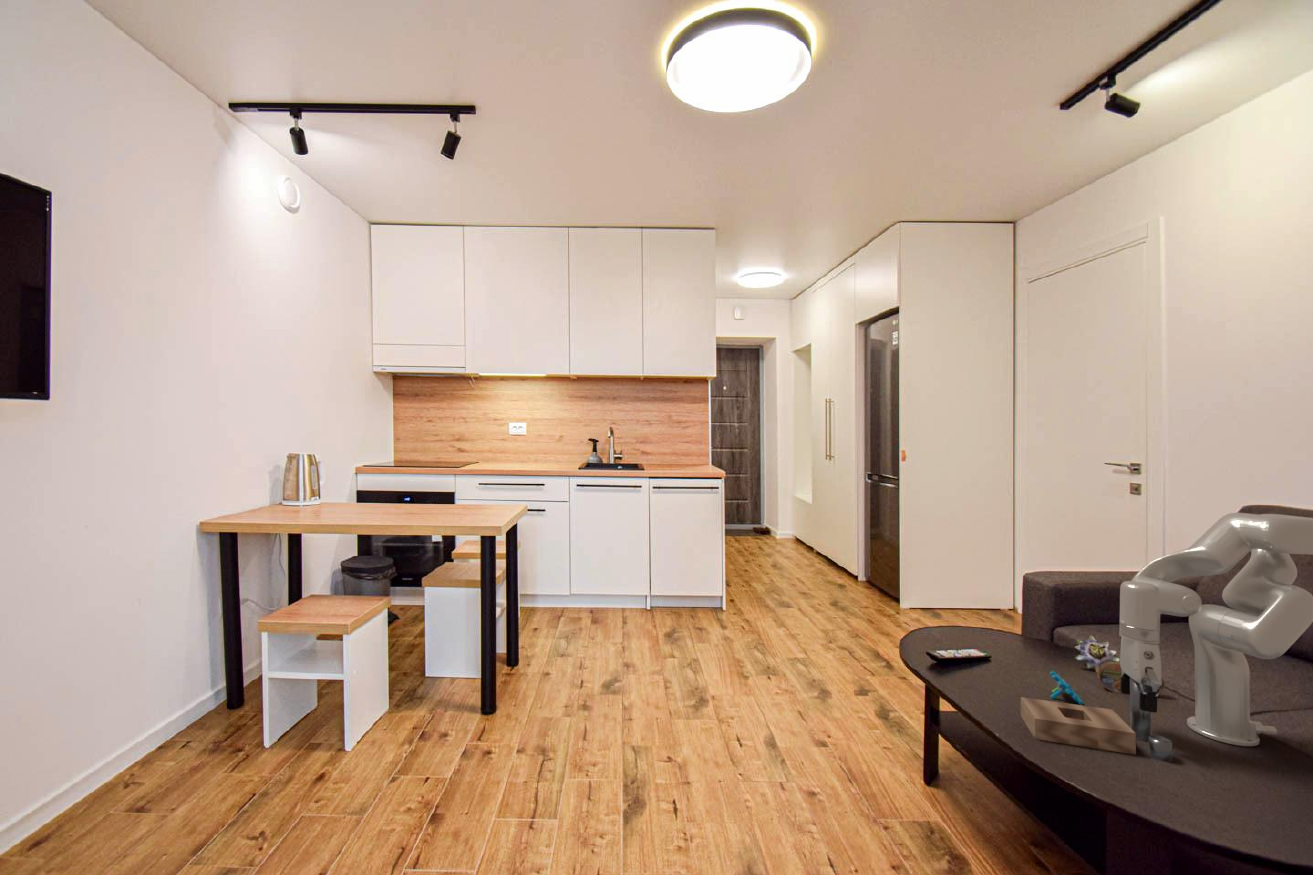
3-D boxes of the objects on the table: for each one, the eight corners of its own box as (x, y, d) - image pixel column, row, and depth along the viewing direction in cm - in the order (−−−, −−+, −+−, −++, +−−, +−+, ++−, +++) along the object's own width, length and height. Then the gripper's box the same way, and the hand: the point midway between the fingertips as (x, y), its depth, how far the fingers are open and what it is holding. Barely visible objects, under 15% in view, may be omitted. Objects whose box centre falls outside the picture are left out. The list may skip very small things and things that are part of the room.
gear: (1088, 706, 147) (1055, 673, 152) (1069, 718, 149) (1037, 685, 153) (1083, 696, 156) (1052, 665, 161) (1065, 707, 158) (1035, 676, 163)
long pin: (1146, 734, 136) (1146, 678, 136) (1155, 742, 132) (1154, 684, 132) (1127, 731, 137) (1126, 675, 137) (1135, 739, 134) (1134, 682, 134)
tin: (1099, 690, 160) (1099, 661, 160) (1095, 686, 163) (1095, 657, 163) (1165, 699, 155) (1164, 669, 155) (1159, 694, 158) (1159, 665, 158)
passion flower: (1098, 689, 173) (1075, 658, 173) (1081, 669, 184) (1059, 640, 184) (1134, 673, 170) (1111, 642, 170) (1115, 654, 180) (1093, 625, 180)
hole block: (1112, 729, 138) (1112, 709, 138) (1135, 754, 127) (1135, 733, 127) (1020, 715, 145) (1020, 697, 145) (1035, 738, 134) (1034, 718, 134)
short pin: (1166, 753, 127) (1166, 736, 128) (1176, 763, 124) (1176, 745, 124) (1145, 750, 129) (1145, 733, 129) (1154, 759, 125) (1154, 742, 125)
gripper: (1178, 646, 126) (1176, 721, 125) (1140, 624, 142) (1139, 690, 142) (1137, 641, 128) (1136, 715, 128) (1105, 620, 144) (1104, 685, 144)
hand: (1137, 702), depth 135 cm, fingers open, 9 cm apart
